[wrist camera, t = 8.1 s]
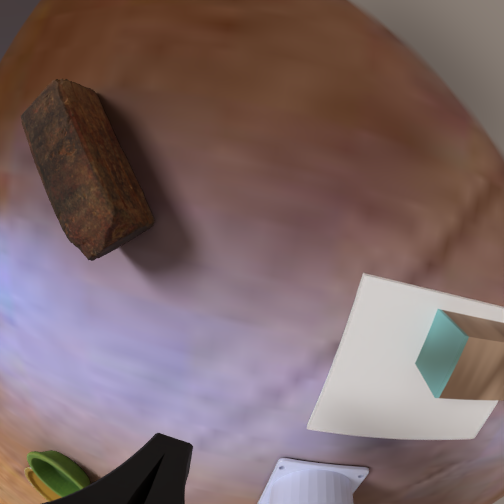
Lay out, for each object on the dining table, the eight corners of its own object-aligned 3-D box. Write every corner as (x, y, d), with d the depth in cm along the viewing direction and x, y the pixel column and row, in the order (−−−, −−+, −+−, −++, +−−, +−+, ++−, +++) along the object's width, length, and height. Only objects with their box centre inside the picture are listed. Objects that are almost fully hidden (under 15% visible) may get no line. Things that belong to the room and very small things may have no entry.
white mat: (471, 435, 19) (473, 438, 19) (306, 424, 21) (306, 429, 20) (535, 314, 17) (539, 317, 16) (363, 272, 18) (364, 275, 17)
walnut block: (414, 363, 18) (494, 372, 17) (434, 397, 14) (518, 400, 13) (437, 308, 17) (516, 325, 16) (465, 335, 13) (545, 348, 13)
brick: (60, 123, 19) (16, 116, 14) (98, 89, 18) (56, 73, 13) (117, 250, 20) (75, 268, 15) (162, 222, 19) (125, 234, 15)
